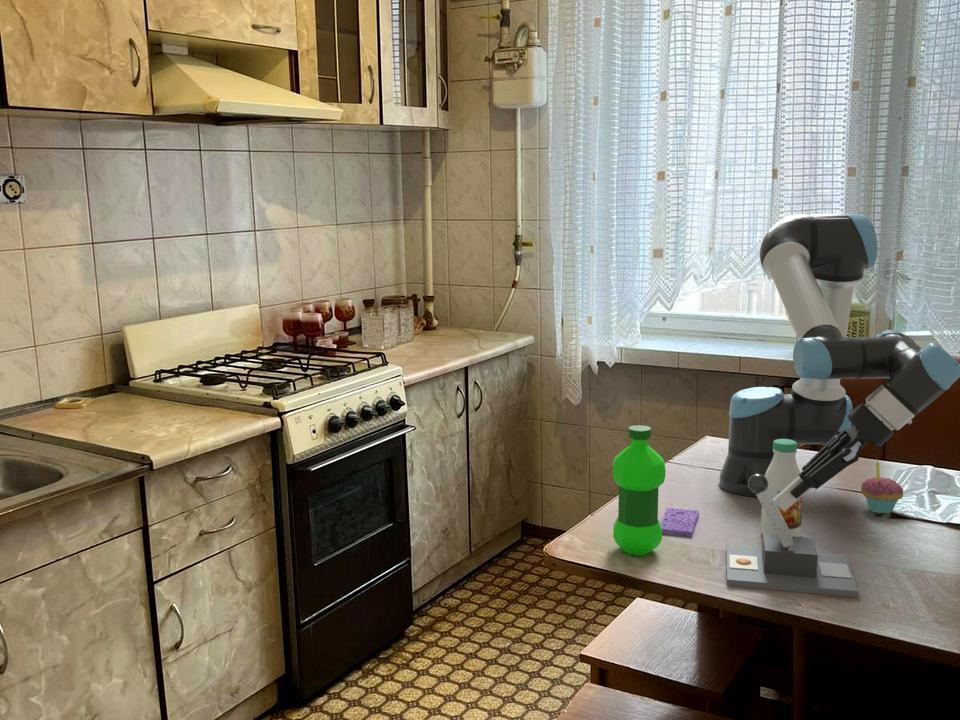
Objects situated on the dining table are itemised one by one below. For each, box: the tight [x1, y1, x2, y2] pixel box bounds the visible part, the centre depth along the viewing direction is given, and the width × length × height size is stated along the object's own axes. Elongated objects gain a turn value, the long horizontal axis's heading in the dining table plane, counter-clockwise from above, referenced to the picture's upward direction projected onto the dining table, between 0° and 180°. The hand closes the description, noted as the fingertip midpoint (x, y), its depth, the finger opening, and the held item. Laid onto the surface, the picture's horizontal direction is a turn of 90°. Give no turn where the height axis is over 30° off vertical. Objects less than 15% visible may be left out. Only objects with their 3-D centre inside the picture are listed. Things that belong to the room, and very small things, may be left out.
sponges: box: [660, 506, 700, 538], centre depth 193 cm, size 7×13×2 cm, turn 160°
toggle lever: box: [748, 474, 794, 548], centre depth 167 cm, size 4×6×14 cm, turn 165°
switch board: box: [725, 534, 859, 599], centre depth 168 cm, size 22×16×6 cm
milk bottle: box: [760, 439, 804, 537], centre depth 184 cm, size 8×8×20 cm
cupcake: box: [860, 458, 904, 514], centre depth 198 cm, size 9×8×12 cm
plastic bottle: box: [612, 424, 667, 556], centre depth 177 cm, size 10×10×25 cm
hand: (778, 505), depth 166 cm, fingers closed
